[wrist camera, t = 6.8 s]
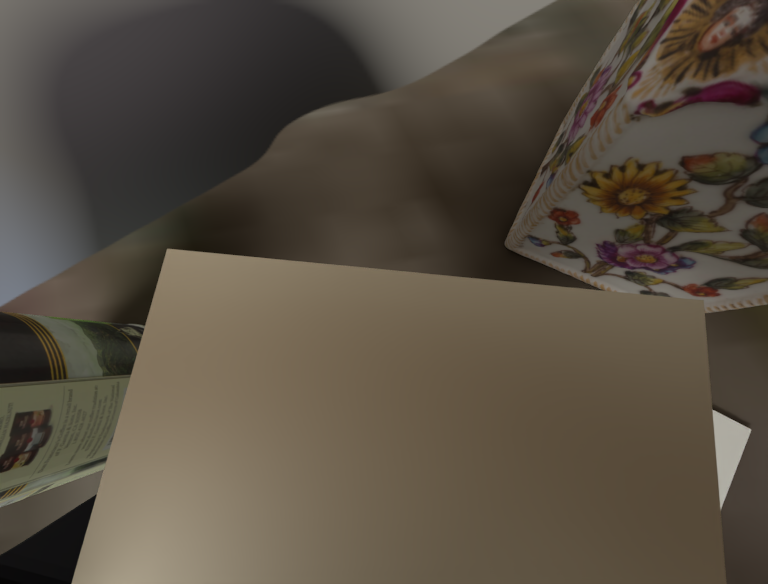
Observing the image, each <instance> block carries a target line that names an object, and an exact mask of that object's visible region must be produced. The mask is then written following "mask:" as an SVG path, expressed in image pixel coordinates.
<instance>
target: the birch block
mask: <svg viewBox="0 0 768 584" xmlns="http://www.w3.org/2000/svg"><path fill="white" fill-rule="evenodd" d="M71 584H726V572H725V560H724V547H723V535H722V522H721V510H720V498H719V485H718V473H717V460H716V448H715V435H714V423H713V410H712V398H711V385H710V373H709V360H708V348H707V336H706V323H705V311H704V300H695V299H684V298H674V297H663V296H653V295H643V294H632V293H622V292H612V291H601V290H591V289H580V288H570V287H560V286H549V285H539V284H529V283H518V282H508V281H497V280H487V279H477V278H466V277H456V276H445V275H435V274H425V273H414V272H404V271H394V270H383V269H373V268H362V267H352V266H342V265H331V264H321V263H311V262H300V261H290V260H279V259H269V258H259V257H248V256H238V255H227V254H217V253H207V252H196V251H186V250H176V249H167V251H166V255H165V258H164V262H163V265H162V269H161V272H160V276H159V279H158V283H157V286H156V290H155V293H154V297H153V300H152V304H151V307H150V311H149V314H148V318H147V321H146V325H145V328H144V332H143V335H142V339H141V342H140V346H139V349H138V353H137V356H136V360H135V363H134V367H133V370H132V374H131V377H130V381H129V384H128V388H127V391H126V395H125V398H124V402H123V405H122V409H121V412H120V416H119V419H118V423H117V426H116V430H115V433H114V437H113V440H112V444H111V447H110V451H109V454H108V458H107V461H106V465H105V468H104V472H103V475H102V479H101V482H100V486H99V489H98V493H97V496H96V500H95V503H94V507H93V510H92V514H91V517H90V521H89V524H88V527H87V531H86V534H85V538H84V541H83V545H82V548H81V552H80V555H79V559H78V562H77V566H76V569H75V573H74V576H73V580H72V583H71Z"/></svg>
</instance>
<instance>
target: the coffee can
mask: <svg viewBox="0 0 768 584" xmlns="http://www.w3.org/2000/svg"><path fill="white" fill-rule="evenodd" d="M144 328H145V326H143V325H139V324H118V323H108V322H97V321H89V320H77V319H67V318H57V317H47V316H38V315H28V314H18V313H8V312H0V507H3V506H5V505H8V504H11V503H14V502H17V501H19V500H22V499H24V498H27V497H29V496H32V495H35V494H38V493H40V492H43V491H46V490H49V489H51V488H54V487H57V486H59V485H62V484H65V483H68V482H70V481H73V480H76V479H78V478H81V477H84V476H86V475H89V474H92V473H95V472H97V471H100V470H103V469H104V468H105V465H106V461H107V458H108V454H109V451H110V447H111V444H112V440H113V437H114V433H115V430H116V426H117V423H118V419H119V416H120V412H121V409H122V405H123V402H124V398H125V395H126V391H127V388H128V384H129V381H130V377H131V374H132V370H133V367H134V363H135V360H136V356H137V353H138V349H139V346H140V342H141V339H142V335H143V332H144Z"/></svg>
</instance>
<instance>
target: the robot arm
mask: <svg viewBox="0 0 768 584" xmlns="http://www.w3.org/2000/svg"><path fill="white" fill-rule="evenodd" d="M96 496H97V494H96V495H95V496H93V497H92V498H90V499H89V500H87V501H85V502H84V503H82V504H81V505H79V506H78V507H76V508H75V509H73V510H71V511H70V512H68V513H67V514H65V515H64V516H62V517H61V518H59V519H57V520H56V521H54V522H53V523H51V524H50V525H48V526H47V527H45V528H43V529H42V530H40V531H39V532H37V533H36V534H34V535H33V536H31V537H29V538H28V539H26V540H25V541H23V542H22V543H20V544H18V545H17V546H15V547H13V548H12V549H10V550H8V551H7V552H5V553H3V554H1V555H0V584H71V583H72V580H73V576H74V573H75V569H76V566H77V562H78V559H79V555H80V552H81V548H82V545H83V541H84V538H85V534H86V531H87V527H88V524H89V521H90V517H91V514H92V510H93V507H94V503H95V500H96Z"/></svg>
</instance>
